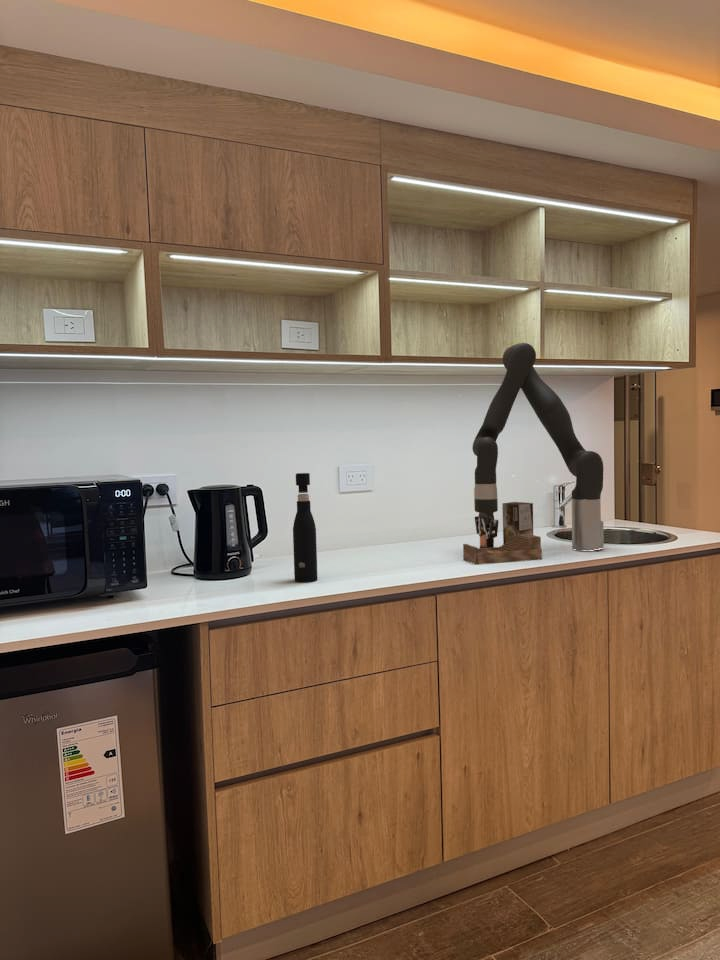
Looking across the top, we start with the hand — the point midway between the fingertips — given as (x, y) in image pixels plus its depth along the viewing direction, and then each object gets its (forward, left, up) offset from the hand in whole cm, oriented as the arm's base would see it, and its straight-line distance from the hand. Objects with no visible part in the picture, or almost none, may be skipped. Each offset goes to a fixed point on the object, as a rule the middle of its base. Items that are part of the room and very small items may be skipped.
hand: (486, 548), depth 224 cm
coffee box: (-14, -5, -2) cm, 15 cm away
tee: (0, 0, -2) cm, 2 cm away
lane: (0, +11, -2) cm, 11 cm away
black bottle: (+64, +20, -2) cm, 67 cm away
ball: (0, 0, 0) cm, 0 cm away
